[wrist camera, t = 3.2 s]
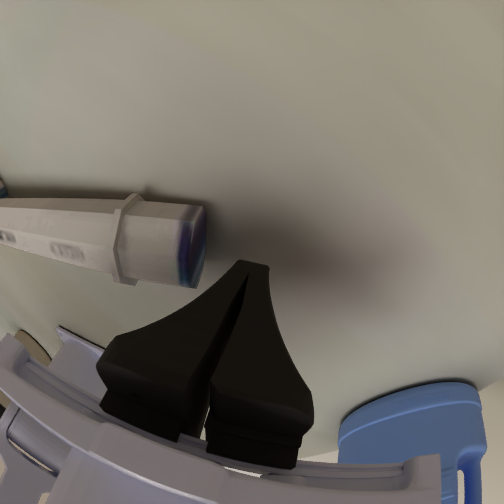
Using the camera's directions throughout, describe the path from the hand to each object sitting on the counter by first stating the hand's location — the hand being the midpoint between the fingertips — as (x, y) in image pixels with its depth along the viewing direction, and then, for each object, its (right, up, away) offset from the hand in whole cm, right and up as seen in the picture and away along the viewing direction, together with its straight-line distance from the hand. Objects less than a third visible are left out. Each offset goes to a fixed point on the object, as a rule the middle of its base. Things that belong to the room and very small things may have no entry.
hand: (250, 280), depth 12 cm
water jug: (+17, -16, +9) cm, 25 cm away
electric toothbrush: (-14, +5, +4) cm, 15 cm away
